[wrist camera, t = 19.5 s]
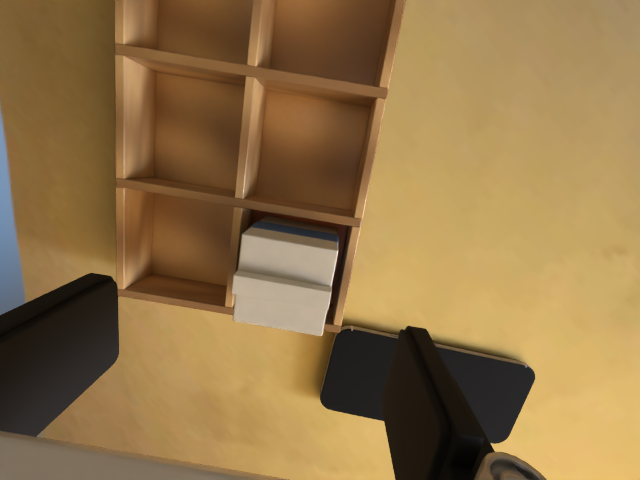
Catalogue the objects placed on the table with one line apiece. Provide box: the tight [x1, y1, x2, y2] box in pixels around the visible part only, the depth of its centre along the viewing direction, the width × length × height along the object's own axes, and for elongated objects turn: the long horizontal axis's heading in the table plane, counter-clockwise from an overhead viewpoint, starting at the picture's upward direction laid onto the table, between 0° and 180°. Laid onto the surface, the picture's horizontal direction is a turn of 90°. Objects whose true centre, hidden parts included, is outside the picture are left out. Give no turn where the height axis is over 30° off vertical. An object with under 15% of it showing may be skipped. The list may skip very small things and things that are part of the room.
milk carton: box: [231, 216, 339, 336], centre depth 18 cm, size 5×5×6 cm
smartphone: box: [320, 326, 535, 444], centre depth 23 cm, size 7×1×15 cm
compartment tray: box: [115, 0, 406, 333], centre depth 18 cm, size 21×14×4 cm
